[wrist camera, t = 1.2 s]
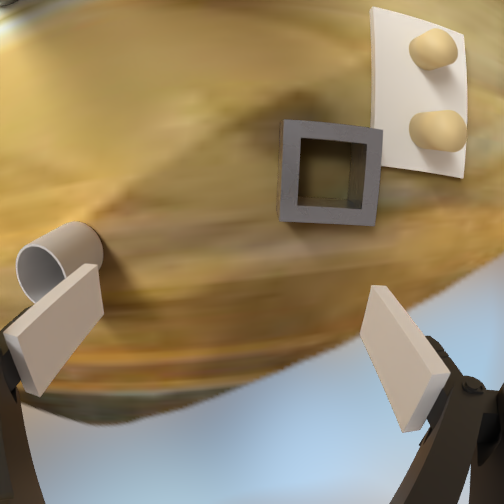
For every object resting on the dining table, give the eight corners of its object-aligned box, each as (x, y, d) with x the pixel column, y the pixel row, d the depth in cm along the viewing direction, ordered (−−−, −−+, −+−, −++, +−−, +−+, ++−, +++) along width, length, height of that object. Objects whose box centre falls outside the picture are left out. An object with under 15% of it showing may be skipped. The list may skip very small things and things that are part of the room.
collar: (280, 122, 30) (283, 119, 25) (365, 130, 30) (383, 129, 25) (276, 209, 33) (279, 221, 28) (359, 214, 33) (374, 226, 28)
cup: (105, 224, 34) (66, 250, 26) (105, 300, 37) (74, 339, 29) (57, 216, 34) (12, 238, 25) (60, 288, 37) (24, 321, 29)
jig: (369, 10, 25) (391, -13, 19) (458, 36, 25) (489, 24, 19) (368, 163, 31) (393, 170, 25) (457, 177, 31) (491, 186, 25)
